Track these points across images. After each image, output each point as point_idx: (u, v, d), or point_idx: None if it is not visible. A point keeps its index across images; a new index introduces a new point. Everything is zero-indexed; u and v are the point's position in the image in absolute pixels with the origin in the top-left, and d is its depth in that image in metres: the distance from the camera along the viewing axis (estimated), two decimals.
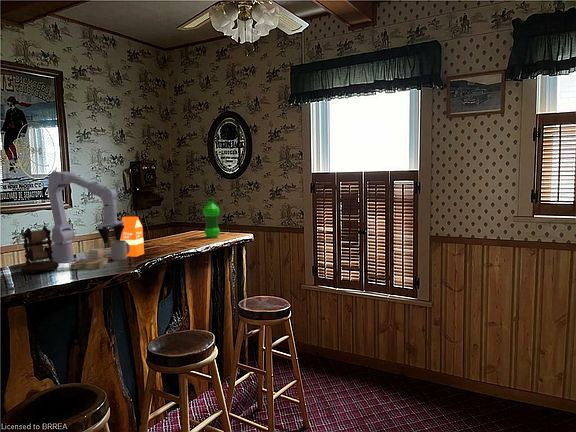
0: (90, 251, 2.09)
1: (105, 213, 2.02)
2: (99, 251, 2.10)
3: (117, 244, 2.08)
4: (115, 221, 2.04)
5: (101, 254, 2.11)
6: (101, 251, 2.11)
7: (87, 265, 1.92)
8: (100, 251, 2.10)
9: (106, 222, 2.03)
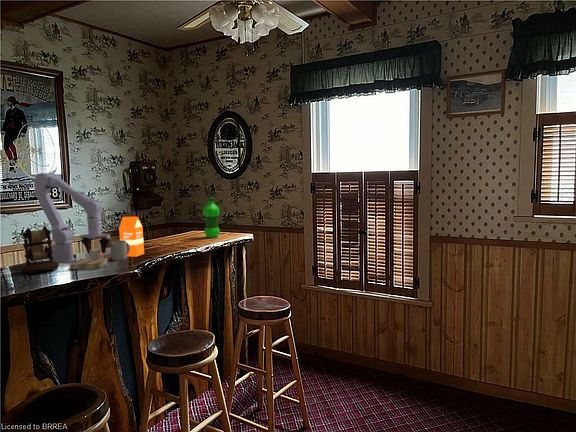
0: (90, 251, 2.09)
1: (90, 225, 2.07)
2: (99, 251, 2.10)
3: (117, 244, 2.08)
4: (91, 234, 2.07)
5: (101, 254, 2.11)
6: None
7: (87, 265, 1.92)
8: (100, 251, 2.10)
9: None
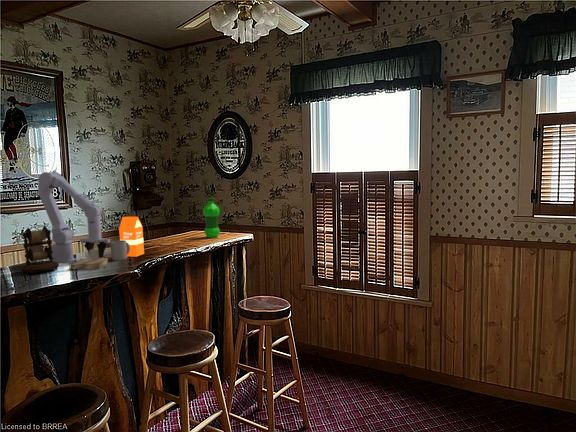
0: (90, 251, 2.09)
1: (90, 230, 2.07)
2: None
3: (117, 244, 2.08)
4: (92, 238, 2.07)
5: None
6: None
7: (87, 265, 1.92)
8: None
9: None
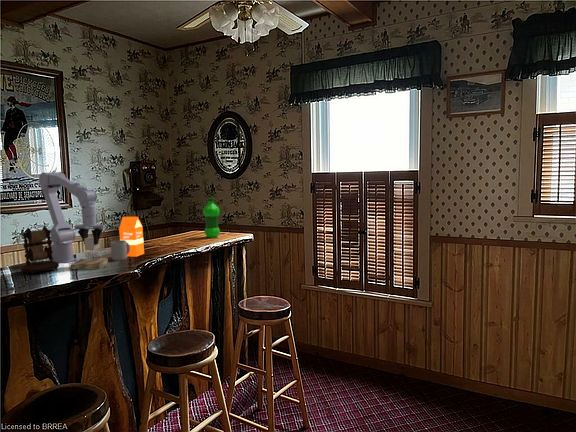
0: (85, 239, 1.99)
1: (82, 215, 1.98)
2: None
3: (117, 244, 2.08)
4: (86, 224, 1.97)
5: None
6: None
7: (87, 265, 1.92)
8: None
9: None
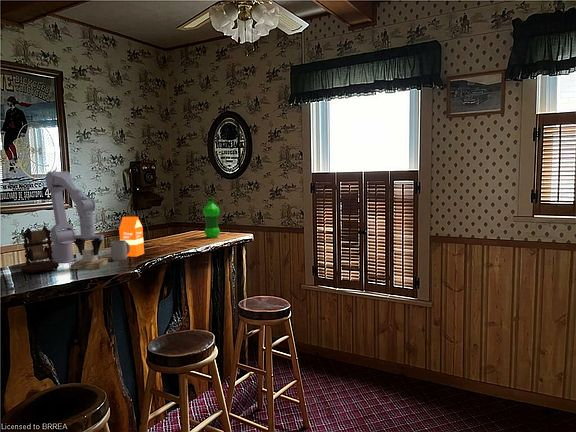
0: (83, 251, 1.96)
1: (80, 225, 1.94)
2: (92, 251, 1.96)
3: (117, 244, 2.08)
4: (84, 234, 1.93)
5: None
6: None
7: (87, 265, 1.92)
8: (93, 251, 1.97)
9: None
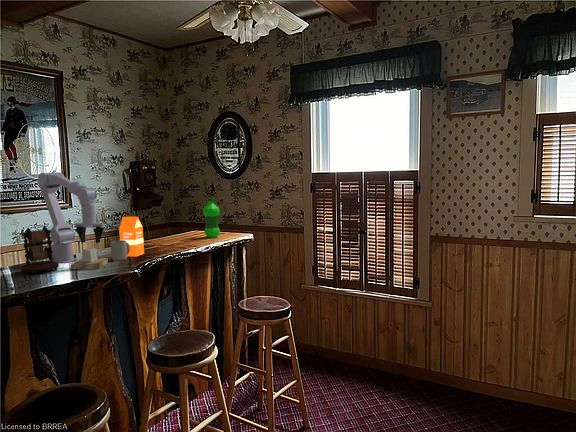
0: (83, 251, 1.96)
1: (82, 213, 1.98)
2: (92, 251, 1.96)
3: (117, 244, 2.08)
4: (85, 222, 1.98)
5: (95, 254, 1.98)
6: (95, 251, 1.98)
7: (87, 265, 1.92)
8: (93, 251, 1.97)
9: None
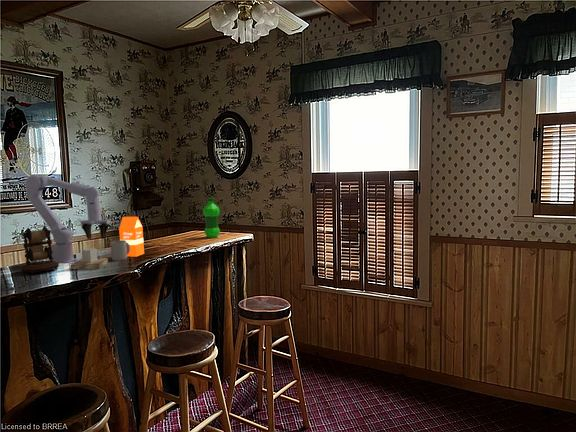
0: (83, 251, 1.96)
1: (90, 211, 2.08)
2: (92, 251, 1.96)
3: (117, 244, 2.08)
4: (91, 219, 2.08)
5: (94, 255, 1.98)
6: (94, 251, 1.98)
7: (87, 265, 1.92)
8: (93, 251, 1.97)
9: None
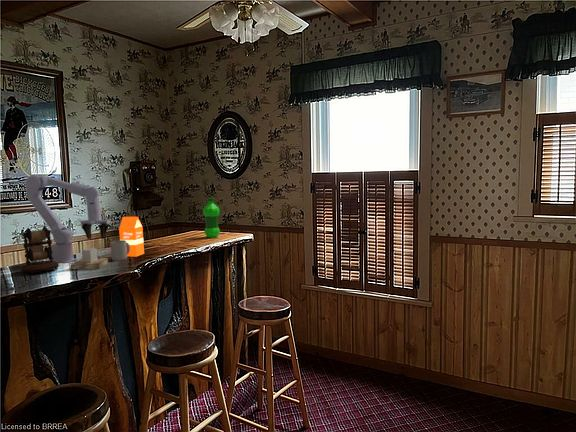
0: (83, 251, 1.96)
1: (90, 211, 2.08)
2: (92, 251, 1.96)
3: (117, 244, 2.08)
4: (91, 219, 2.08)
5: (95, 255, 1.98)
6: (95, 251, 1.98)
7: (87, 265, 1.92)
8: (93, 251, 1.97)
9: None
